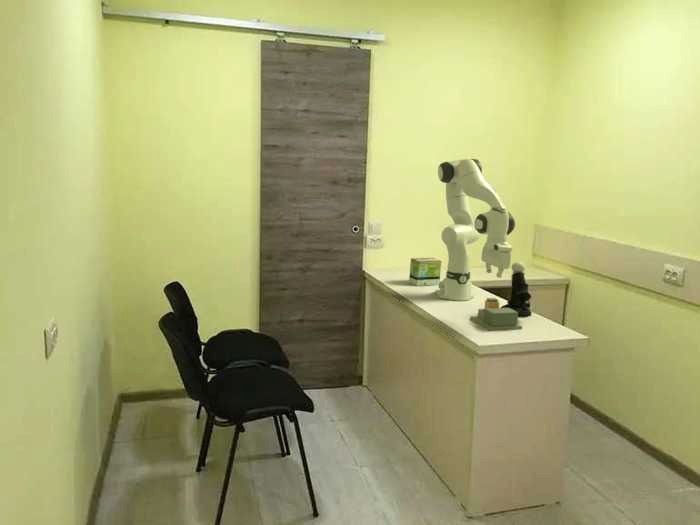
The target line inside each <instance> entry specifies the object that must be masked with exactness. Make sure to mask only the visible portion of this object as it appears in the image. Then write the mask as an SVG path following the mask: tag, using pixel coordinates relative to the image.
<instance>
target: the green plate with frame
mask: <svg viewBox="0 0 700 525" xmlns="http://www.w3.org/2000/svg"><path fill="white" fill-rule="evenodd" d="M484 308H485V307H484ZM484 308H478V310H477V315H471V316H469V319H470V320H471V321H473V322H474V323H476V324H478V325H480V326H481V327H483V328H484V329H485V330H487V331H503V330H505V331H508V330H507V329H509V330H522V329H523V325H521V324H520V323H518V319H519V317H518V312H516V311H514V310H512V309H510V308H501V307H499V308H485V309H484Z"/></svg>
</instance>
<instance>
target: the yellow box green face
mask: <svg viewBox="0 0 700 525" xmlns="http://www.w3.org/2000/svg"><path fill="white" fill-rule="evenodd" d="M485 308H500V301H499V300H498V298H495V297H492V298H491V297H490V298H488V297H487V298H486V299H485V300H484V308H483V309H485Z"/></svg>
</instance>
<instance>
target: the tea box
mask: <svg viewBox="0 0 700 525" xmlns="http://www.w3.org/2000/svg"><path fill="white" fill-rule="evenodd" d="M441 268H442V260H441V259H437V258H435V257H412V258H410V266H409V278H408V283H409V284H412V285H414V286H416V287H422V286H439V284H440V283H441V281H440V280H441Z"/></svg>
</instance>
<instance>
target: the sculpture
mask: <svg viewBox="0 0 700 525" xmlns="http://www.w3.org/2000/svg"><path fill="white" fill-rule="evenodd" d="M511 270H512V274H511V283H510V284H511V291H510V292H511V294H510V299H509V300H508V301H506V302H507V304H504V305H502V306H501V307H500V308H510V309H512V310H514V311H516V312H518V318H528V316H529V317H530V316H532V311H531V309H530V307H531V303H529V302H527V301H529V300H530V299H531V298H532V295H531V294H530V292H529V284H528V283H526V279H525V275H526V274H525V272H524V271H525V270H526V265H525V264H524V262H522V261H515V262H513V263H512V265H511Z"/></svg>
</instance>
